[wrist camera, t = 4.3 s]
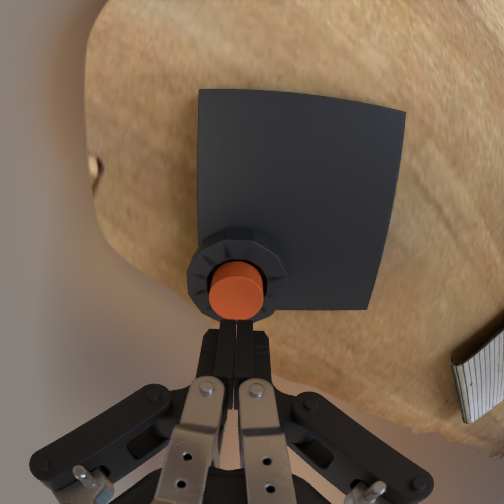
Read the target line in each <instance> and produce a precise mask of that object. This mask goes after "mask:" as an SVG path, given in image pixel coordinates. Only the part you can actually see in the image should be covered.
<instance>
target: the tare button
mask: <svg viewBox="0 0 504 504" xmlns="http://www.w3.org/2000/svg"><path fill="white" fill-rule="evenodd" d="M209 302H210V305H211V307H212V309H213V310H214V311H215V312H216V313H217V314H218V315H220V316H221V317H223V318H225V319H236V321H237V320H238V319H241V320H246V319H249V318H251V317H253V316H254V315H255V314H257V313H258V312H259V310H260V309H261V307H262V305H263V282H262V277H261V275H260V273H259V271H258V270H257V269H256V268H255V267H254V266H252V265H250V264H248V263H246V262H242V261H231V262H228V263H225V264H223V265H221V266H220V267H219V268H218V269H217V270H216V271H215V273H214V275H213V278H212V283H211V288H210V292H209Z"/></svg>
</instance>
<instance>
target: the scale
mask: <svg viewBox="0 0 504 504" xmlns="http://www.w3.org/2000/svg"><path fill="white" fill-rule="evenodd" d="M405 118H406V112H403V111H399V110H395V109H391V108H386V107H382V106H377V105H372V104H367V103H362V102H356V101H351V100H345V99H339V98H332V97H325V96H317V95H309V94H300V93H290V92H279V91H264V90H243V89H199V102H198V143H197V207H198V249H197V250H196V252H195V254H194V255H193V257H192V259H191V262H190V264H189V267H188V270H187V285H188V294H189V296H190V298H191V299H192V300H193V302H194V303H195V304H196V306H197V307H198V308H199V310H200V311H201V312H202V313H203V314H205V315H207V316H209V317H211V318H213V319H215V320H217V321H219V322H220V321H221V319H225V318H223V317H221V316H220V315H218V314H217V313H216V312H215V311H214V310H213V309H212V307H211V305H210V302H209V292H210V288H211V283H212V278H213V275H214V273H215V271H216V270H217V269H218V268H219V267H220V266H221V265H223V264H225V263H228V262H231V261H242V262H246V263H248V264H250V265H252V266H254V267H255V268H256V269H257V270H258V271H259V273H260V275H261V277H262V282H263V305H262V307H261V309H260V310H259V312H258V313H257V314H255V315H254V316H253V317H251V318H249V319H246V320H253V323H254V322H257V321H259V320H262V319H264V318H267V317H269V316H270V315H272V314H273V313H274V311H275V310H367V308H368V304H369V301H370V298H371V294H372V291H373V287H374V284H375V280H376V276H377V273H378V269H379V265H380V261H381V257H382V253H383V249H384V245H385V241H386V236H387V232H388V227H389V223H390V218H391V213H392V208H393V203H394V197H395V192H396V186H397V180H398V174H399V167H400V161H401V153H402V146H403V137H404V128H405ZM236 325H237V321H236Z"/></svg>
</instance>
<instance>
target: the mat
mask: <svg viewBox="0 0 504 504" xmlns="http://www.w3.org/2000/svg"><path fill="white" fill-rule="evenodd" d="M451 361H452V365H451V368H452V372H453V376H454V380H455V384H456V389H457V393H458V398H459V403H460V407H461V412H462V419H463V422H464V423H466V424H471V423H472V422H474V421H475V420H477V419H478V418H480V417H481V416H483V415H484V414H485V413H487V412H488V411H489V410H491V409H492V408H493V407H494V406H495V405H497V404H498V403H499V402H501V401H502V400H503V399H504V327H502V328H501V329H500V330H499V331H498V332H497V333H495V334H494V335H493V336H492V337H490V338H489V339H488V340H487V341H486V343H485V344H484V345H482V346H481V347H480V348H479V349H478V350H477V351H476V352H474V353H473V354H472V355H471V356H469V357H468V358H467V359H465V360H464V361H463V362H461V363H460V364H456V363H453V359H452V356H451Z"/></svg>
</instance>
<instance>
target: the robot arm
mask: <svg viewBox="0 0 504 504" xmlns="http://www.w3.org/2000/svg"><path fill="white" fill-rule="evenodd" d="M235 352H236V354H235ZM234 370H235V372H234ZM233 389H234V409H236V410H238V435H239V450H240V469H235V470H228V471H227V470H223V469H220V468H219V467H220V456H221V450H222V444H223V438H224V432H225V425H226V420H227V410H228V409H232V408H233ZM286 444H287V445H288V446H289V447H290V448H291V449H292V450H293V451H294V452H295V453H296V454H297V455H299V456H300V457H301V458H302V459H303V460H304V461H306V462H307V463H308V464H309V465H310V466H311V467H312V468H313V469H315V470H316V471H317V472H318V473H319V474H321V475H322V476H323V477H324V478H325V479H327V480H328V481H329V482H330V483H331V484H333V485H334V486H335V487H337V488H338V489H339V490H340V491H342V492H343V493H344V494H345V495H346V497H345V499H344V504H418V503H419V502H420V501H422V500H423V499H425V498H427V497H428V496H429V495H430V494H431V492H432V490H433V487H434V481H433V478H432V476H431V475H430V474H429V473H428V472H427V471H426V470H424V469H422V468H421V467H419V466H418V465H416V464H415V463H413V462H412V461H410V460H409V459H407V458H406V457H404V456H403V455H402V454H400V453H399V452H397V451H396V450H394V449H393V448H391V447H390V446H388V445H387V444H386V443H384V442H383V441H382V440H380V439H379V438H377V437H376V436H375V435H373V434H372V433H370V432H369V431H368V430H366V429H365V428H364V427H362V426H361V425H359V424H358V423H357V422H355V421H354V420H353V419H352V418H350V417H349V416H348V415H346V414H345V413H344V412H342V411H341V410H340V409H338V408H337V407H336V406H335V405H333V404H332V403H331V402H329V401H328V400H327V399H325V398H324V397H323V396H321V395H320V394H318V393H315V392H303V393H300V394H299V395H297V396H292V395H288V394H284V393H282V392H280V391H279V390H277V389H276V388H275V387H274V385H273V384H272V381H271V366H270V351H269V338H268V337H267V335H266V334H265V332H264V331H253V320H241V319H238V320H237V337H236V319H221V321H220V328H219V329H209V330H208V331H207V332H206V333H205V335H204V336H203V341H202V346H201V352H200V358H199V364H198V369H197V374H196V378H195V380H194V381H193V382H192V383H191V385H189V386H188V387H186V388H183V389H178V390H172V391H169V390H168V389H167V388H166V387H165V386H162V385H160V384H149V385H146V386H144V387H142V388H141V389H139V390H138V391H136V392H134V393H133V394H131V395H130V396H128V397H127V398H125V399H124V400H122V401H120V402H119V403H117V404H116V405H114V406H112V407H111V408H109V409H108V410H106V411H104V412H103V413H101V414H100V415H98V416H96V417H95V418H93V419H91V420H90V421H88V422H86V423H85V424H83V425H81V426H80V427H78V428H76V429H75V430H73V431H71V432H70V433H68V434H66V435H65V436H63V437H61V438H59V439H58V440H56V441H54V442H52V443H51V444H49V445H47V446H45V447H44V448H42V449H40V450H38V451H36V452H35V453H34V454H33V455H32V456H31V458H30V462H29V467H30V470H31V472H32V474H33V475H34V476H35V477H36V478H37V479H38V480H40V481H41V482H42V483H43V484H44V485H45V486H46V487H47V488H49V489H50V490H51V491H52V492H53V494H54V495H55V497H56V498H57V500H58V501H59V503H60V504H106V503H107V502H108V501H109V500H110V499H111V498H112V497H113V495H114V486H113V484H114V483H115V482H117V481H118V480H120V479H121V478H123V477H124V476H126V475H127V474H129V473H130V472H132V471H133V470H135V469H136V468H137V467H139V466H140V465H142V464H143V463H145V462H146V461H147V460H149V459H150V458H151V457H153V456H154V455H156V454H157V453H158V452H160V451H161V450H162V449H164V448H165V447H166V446H168V445H169V446H168V449H167V453H166V457H165V460H164V463H163V467H162V468H160V469H157V470H155V471H153V472H151V473H149V474H148V475H146V476H145V477H144V478H142V479H141V480H140V481H138V482H137V483H136V484H135V485H133V486H132V487H131V488H129V489H128V490H126V491H125V492H124V493H122V494H121V495H120V496H118V497H117V498H115V499H114V500H113V501H111V502H110V503H108V504H331V503H330V502H329V501H328V500H327V499H326V498H324V497H323V496H322V495H321V494H320V493H319V492H318V491H317V490H316V489H315V488H313V487H312V486H311V485H310V484H309V483H308V482H306V481H305V480H304V479H302V478H300V477H298V476H296V475H294V474H292V473H291V468H290V462H289V456H288V451H287V445H286Z"/></svg>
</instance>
